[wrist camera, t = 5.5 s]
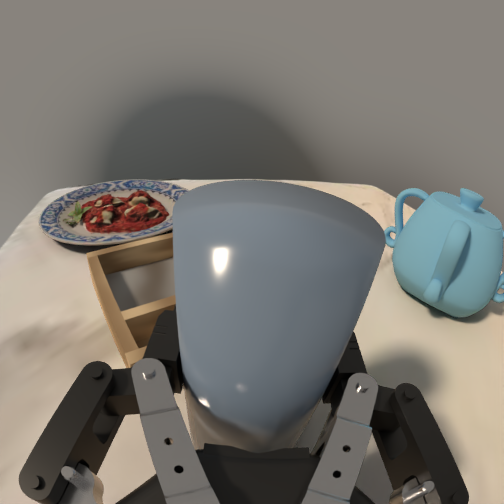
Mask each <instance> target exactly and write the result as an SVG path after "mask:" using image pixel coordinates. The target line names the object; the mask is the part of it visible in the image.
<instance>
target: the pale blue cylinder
mask: <svg viewBox="0 0 504 504" xmlns="http://www.w3.org/2000/svg"><path fill="white" fill-rule="evenodd" d="M172 219H173V258H174V280H175V297H176V312H177V325H178V336H179V347H180V357H181V366H182V375H183V383H184V391H185V399H186V406H187V413H188V420H189V426H190V432H191V438H192V444H193V446H194V449H195V450H198V449H204V443H208V444H217V445H228V446H233V447H236V448H239V449H243V450H246V451H250V452H254V453H263V452H268V451H273V450H278V449H282V448H294V446H295V444H296V443H297V441H298V439H299V438H300V436H301V434H302V432H303V431H304V429H305V427H306V425H307V424H308V422H309V420H310V418H311V417H312V415H313V413H314V411H315V409H316V407H317V405H318V404H319V402H320V400H321V398H322V396H323V394H324V392H325V390H326V388H327V386H328V384H329V382H330V380H331V378H332V376H333V374H334V372H335V370H336V368H337V366H338V364H339V362H340V359H341V357H342V355H343V353H344V351H345V348H346V346H347V344H348V342H349V339H350V337H351V335H352V333H353V330H354V328H355V326H356V323H357V321H358V318H359V316H360V313H361V311H362V308H363V306H364V303H365V301H366V298H367V296H368V293H369V290H370V288H371V285H372V282H373V280H374V277H375V274H376V271H377V268H378V266H379V263H380V260H381V257H382V254H383V251H384V248H385V243H386V237H385V233H384V231H383V229H382V228H381V226H380V225H379V223H378V222H377V221H376V220H375V219H374V218H373V217H371V216H370V215H369V214H368V213H366V212H365V211H363V210H362V209H361V208H359V207H357V206H355V205H354V204H352V203H350V202H348V201H346V200H343V199H341V198H339V197H336V196H334V195H331V194H328V193H325V192H322V191H319V190H316V189H312V188H308V187H304V186H299V185H294V184H289V183H282V182H274V181H262V180H234V181H223V182H217V183H212V184H207V185H203V186H200V187H197V188H195V189H192V190H190V191H188V192H186V193H185V194H183V195H182V196H181V197H179V199H178V200H177V201H176V202H175V204H174V206H173V211H172Z"/></svg>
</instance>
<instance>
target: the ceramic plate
mask: <svg viewBox="0 0 504 504" xmlns="http://www.w3.org/2000/svg"><path fill="white" fill-rule="evenodd" d="M188 191H189V190H188V189H185V188H183V187H181V186H178V185H176V184H172V183H168V182H162V181H154V180H119V181H111V182H104V183H99V184H94V185H90V186H86V187H83V188H80V189H77V190H74V191H72V192H69V193H67V194H65V195H63V196H61V197H59V198H57V199H56V200H54V201H53V202H52V203H50V204H49V205H48V206H47V207H46V208H45V209H44V210H43V211H42V213H41V215H40V217H39V226H40V229H41V230H42V232H43V233H44V234H45V235H47V236H48V237H50V238H52V239H54V240H57V241H60V242H63V243H69V244H75V245H108V244H120V243H125V242H130V241H135V240H141V239H145V238H148V237H152V236H155V235H158V234H161V233H164V232H166V231H169V230H171V229H173V219H172V211H173V206H174V204H175V202H176V201H177V200H178V199H179V197H181V196H182V195H183V194H185V193H186V192H188Z"/></svg>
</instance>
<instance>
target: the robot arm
mask: <svg viewBox="0 0 504 504" xmlns="http://www.w3.org/2000/svg"><path fill="white" fill-rule="evenodd" d="M182 385H183V375H182V366H181V357H180V347H179V336H178V325H177V312H176V305H175V307H174V310H173V311H171V310H164V311H163V312H162V313H161V314H160V315H159V316H158V318H157V321H156V323H155V326H154V329H153V331H152V334H151V337H150V339H149V342H148V345H147V347H146V350H145V353H144V356H143V358H142V359H141V360H139V361H137V362H136V363H135V364H134V365H133V367H130V368H125V369H111V367H110V366H109V365H108V364H107V363H105V362H101V361H95V362H91V363H89V364H87V365H86V366H85V367H84V368H83V370H82V371H81V373H80V374H79V376H78V377H77V379H76V380H75V382H74V383H73V385H72V386H71V388H70V389H69V391H68V392H67V394H66V395H65V397H64V399H63V400H62V402H61V403H60V405H59V407H58V408H57V410H56V411H55V413H54V415H53V416H52V418H51V419H50V421H49V423H48V424H47V426H46V428H45V429H44V431H43V433H42V435H41V436H40V438H39V440H38V441H37V443H36V445H35V447H34V448H33V450H32V452H31V454H30V455H29V457H28V459H27V461H26V463H25V465H24V466H23V468H22V470H21V472H20V475H19V484H20V487H21V489H22V491H23V492H24V493H25V494H26V495H27V496H28V497H29V498H31V499H33V500H35V501H37V502H38V503H39V504H103V500H102V496H103V491H104V487H103V483H102V481H101V480H100V479H99V478H98V477H97V476H96V475H97V473H98V471H99V469H100V466H101V464H102V462H103V460H104V458H105V456H106V454H107V452H108V450H109V447H110V445H111V443H112V441H113V439H114V437H115V435H116V433H117V431H118V429H119V427H120V425H121V423H122V421H123V419H124V417H125V415H130V414H140V419H141V423H142V427H143V430H144V434H145V438H146V441H147V445H148V448H149V451H150V455H151V458H152V461H153V464H154V467H155V470H156V474H155V475H154V476H153V477H151V478H150V479H149V480H147V481H146V482H145V483H143V484H142V485H141V486H139V487H138V488H137V489H135V490H134V491H133V492H131V493H130V494H128V495H127V496H126V497H124V498H123V499H121V500H120V501H118V502H117V503H116V504H375V503H374V502H373V501H372V500H371V499H369V498H368V497H367V496H366V495H365V494H364V493H363V492H362V491H361V490H359V489H358V488H357V487H356V486H355V483H356V480H357V477H358V474H359V471H360V468H361V465H362V462H363V459H364V456H365V453H366V450H367V446H368V443H369V439H370V436H371V432H372V433H373V436H374V439H375V441H376V444H377V446H378V449H379V452H380V454H381V457H382V460H383V462H384V465H385V468H386V470H387V473H388V476H389V479H390V481H391V484H392V487H393V490H394V491H393V493H392V494H391V496H390V499H389V504H468V501H469V494H468V491H467V488H466V486H465V483H464V481H463V479H462V476H461V474H460V472H459V470H458V467H457V465H456V463H455V461H454V458H453V456H452V454H451V452H450V450H449V448H448V445H447V443H446V441H445V439H444V437H443V435H442V433H441V431H440V429H439V427H438V425H437V423H436V421H435V419H434V417H433V415H432V413H431V411H430V409H429V407H428V405H427V404H426V402H425V400H424V398H423V396H422V394H421V392H420V391H419V389H418V388H417V387H415V386H414V385H412V384H409V383H403V384H400V385H399V386H398V387H397V388H396V389H391V388H387V387H383V386H380V385H378V384H377V382H376V380H375V379H374V378H373V377H372V376H370V375H368V374H367V371H366V368H365V365H364V361H363V358H362V355H361V352H360V350H359V345H358V343H357V339H356V336H355V333H354V332H353V333H352V335H351V337H350V339H349V342H348V344H347V346H346V348H345V351H344V353H343V355H342V357H341V359H340V362H339V364H338V366H337V368H336V370H335V372H334V374H333V376H332V378H331V380H330V382H329V384H328V386H327V388H326V390H325V392H324V394H323V396H322V399H323V403H331V407H332V409H331V411H330V413H329V415H328V417H327V420H326V422H325V425H324V427H323V430H322V432H321V434H320V437H319V439H318V441H317V443H316V445H315V447H314V449H313V451H312V453H311V454H310V453H309V448H282V449H278V450H273V451H268V452H263V453H254V452H250V451H246V450H243V449H239V448H236V447H233V446H228V445H217V444H208V443H204V449H198V450H195V449H194V446H193V444H192V441H191V439H190V436H189V433H188V431H187V428H186V426H185V423H184V420H183V417H182V415H181V412H180V409H179V407H178V406H177V404H176V401H175V398H174V393H180V394H181V390H182Z"/></svg>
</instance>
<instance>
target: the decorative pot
mask: <svg viewBox="0 0 504 504" xmlns="http://www.w3.org/2000/svg"><path fill="white" fill-rule="evenodd" d="M408 196H416V197H419V198H420V199H422V200H424V202H423V203H422V204H421V206H420V207H419V208H418V209H417V210H416V211H415V212H414V213H413V215H412V216H411V217H410V218H409V220H408V221H407V223H406V224H405V226H404V228H403V203H404V200H405V198H406V197H408ZM483 200H484V199H483V197H482V196H481V195H479V194H477V193H475V192H473V191H471V190H468V189H465V188H461V190H460V197H457V196H455V195H452V194H449V193H446V192H434V193H432V194H431V195H430V196H429V195H428V194H427V193H426V192H424V191H422V190H421V189H417V188H410V189H407V190H405V191H402V192H401V193H400V194H399V195H398V197H397V199H396V202H395V227H393V226H390V227H388V228H386V230H385V231H384V233H385V237H386V244H387V245H388V246H389V247H391V248H394V249H393V258H392V260H393V267H394V272H395V275H396V278H397V281H398V282H399V284H400V285H401V287H402V288H403V290H405V291H406V292H408V293H410V294H412V295H414V296H415V297H417V298H419V299H420V300H422V301H424V302H425V303H427V304H429V305H431V306H433V307H435V308H437V309H439V310H441V311H443V312H445V313H447V314H448V315H450V316H452V317H455V318H458V317H467V316H470V315H473V314H475V313H476V312H478V311H480V310H481V309H483V308H484V307H485V306H486V305H487V304H488V303H489V302H490V300H491V299H492V300H493V301H495V302H498V303H501V302H504V293H503V294H498V293H497V291H498V289H499V288H502V289H504V272H503V273H502V274H501V275H500V273H501V268H502V258H503V238H504V231H502V225H501V223H500V221H499V220H498V219H497V217H496V216H494V215H493V214H492V213H490V212H489V211H487V210H485V209H483V208H481V207H479V206H480V205H481V204H482V202H483ZM390 232H394V233H395V234H396V237H395V240H393V239H392V238H391V237H390Z"/></svg>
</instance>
